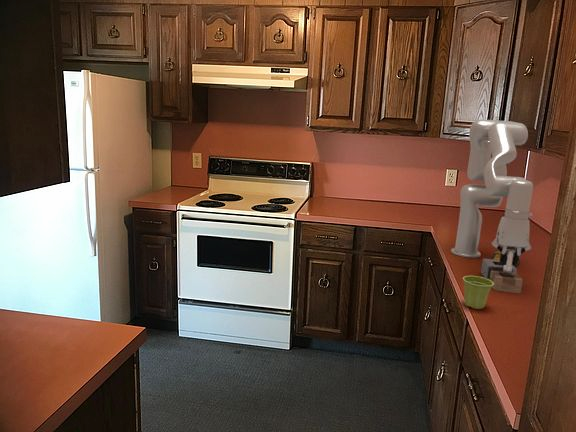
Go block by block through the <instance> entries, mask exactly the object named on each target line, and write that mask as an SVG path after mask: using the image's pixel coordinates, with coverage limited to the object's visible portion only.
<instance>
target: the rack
mask: <svg viewBox="0 0 576 432" xmlns="http://www.w3.org/2000/svg"><path fill="white" fill-rule="evenodd" d="M490 280H491V281H492V282H493V283H494V285H493V286H492V287H491V289H492V290H493V291H494V290H495V292H502V291H503V292H504V293H512V294H521V293H522V287H523V282H524V280H523V278H522V277H521V276H520V275H519V274H518V273H517V272H516V273H511V277H502V272H501V271H492V270H491V274H490Z"/></svg>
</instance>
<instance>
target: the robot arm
mask: <svg viewBox="0 0 576 432" xmlns="http://www.w3.org/2000/svg"><path fill="white" fill-rule="evenodd" d="M468 136H469V144H470V150H469V151H470V152H469V159H468V165H467V172H466V173H467V178H468V179H469V180H470V181H472V182H481V183H484V184H481V183H480V184H478V183H469V184H465V185H463V187H461V189H460V193H459V195H460V197H459V198H460V200H459V201H460V206H459V207H460V209H459V217H458V224H457V225H458V226H457V231H456V232H457V233H456V241H455V246H454V247H452V248H451V249H450V252H451V253H452V254H454V255H456V256H459V257H462V258H463V257H464V258H472V259H473V258H479V257H481V255H482V254H481V252H480V251H479V250H478V248H479V243H480V236H481V231H482V230H481V229H482V223H483V215H482V212H481V211H480V209H479V207H486V208H487V207H488V208H497V207H499V206H501V204H502V201H503V197H504V198H506V204H505V211H504V213H505V216H504V217H503V216H502V217H501V218H500V221H499V223H498V227H497V231H496V235H495V238H494V240H493V241H492V242H491V245H492V246H493V247H494V248H496V250H499V251H500V252H501V255H500V262H501V264H502V265H505V261H506V253H505V252H506V249H507V246H509V247H515V255H514V261H513V266H515V267H517V266H516V264H518V260H519V259H520V256H521V255H522V254H523V253H525V252H527V251H529V250H532V246H531V244H530V242H529V241H530V230H531V229H530V227H531V226H530V219H529V218H533V215H534V214H533V212H530V207H531V201H532V196H533V189H534V184H533V182H532V181H529V180H527V179H526V178H524V177H521V176H510V175H509V176H507V175H508V173H507V172H508V170H507V169H508V168H507V164H510V163H511V162H513V161H514V160H515V159H516V157H517V155H518V153H517V148H516V146H522V145H525V144H526V142H527V140H528V138H529V132H528V128H527V126H526V125H525V124H524V123H521V122H516V121H511V120H497V119H477V120H474V121H473V122H472V123H471V125H470V127H469V132H468Z"/></svg>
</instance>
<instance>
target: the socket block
mask: <svg viewBox="0 0 576 432" xmlns="http://www.w3.org/2000/svg"><path fill="white" fill-rule="evenodd" d="M491 270H492V271H501V272H502V271H503V265H502V264H501V262H500V260H493V259H490V258H482V262H481V269H480V274H481V273H482V274H481V275H483V276H484V277H483V276H482V277H483V278H486V279H489V280H490V274H491ZM517 270H518V269H517V267H516V266H515V267H514V266H513V267H512V273H517Z"/></svg>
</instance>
